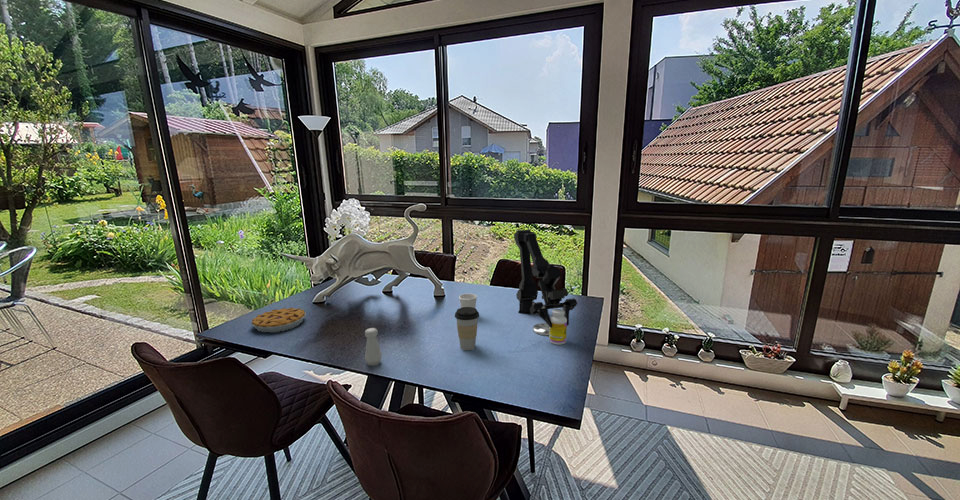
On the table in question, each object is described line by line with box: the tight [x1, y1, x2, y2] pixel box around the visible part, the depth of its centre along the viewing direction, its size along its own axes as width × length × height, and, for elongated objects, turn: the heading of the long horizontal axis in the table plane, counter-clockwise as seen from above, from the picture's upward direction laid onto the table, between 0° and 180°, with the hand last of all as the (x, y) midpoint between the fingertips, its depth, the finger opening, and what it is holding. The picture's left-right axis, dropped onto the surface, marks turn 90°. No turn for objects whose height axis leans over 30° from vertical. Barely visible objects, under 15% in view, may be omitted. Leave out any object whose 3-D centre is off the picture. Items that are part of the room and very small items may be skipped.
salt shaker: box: [364, 327, 382, 367], centre depth 138 cm, size 6×6×13 cm
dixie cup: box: [458, 293, 478, 308], centre depth 180 cm, size 8×8×10 cm
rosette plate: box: [532, 322, 550, 337], centre depth 164 cm, size 11×11×1 cm
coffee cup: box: [454, 307, 480, 351], centre depth 149 cm, size 9×9×15 cm
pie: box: [250, 307, 307, 333], centre depth 176 cm, size 22×22×5 cm
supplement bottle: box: [548, 308, 568, 346], centre depth 152 cm, size 7×7×13 cm
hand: (559, 326), depth 151 cm, fingers closed on supplement bottle, 7 cm apart
